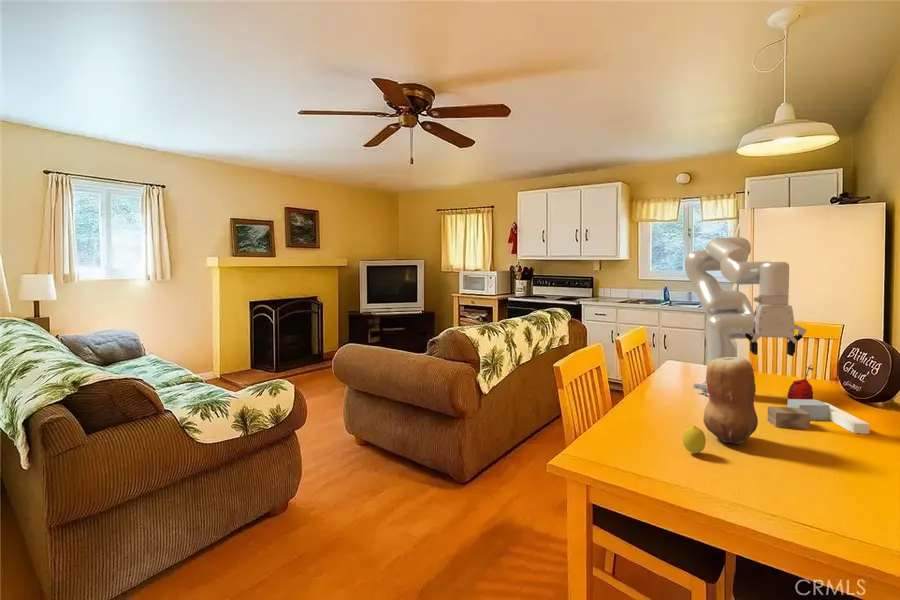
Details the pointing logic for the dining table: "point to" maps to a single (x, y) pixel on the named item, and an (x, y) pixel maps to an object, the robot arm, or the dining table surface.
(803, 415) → the walnut block
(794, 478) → the dining table surface
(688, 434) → the lemon
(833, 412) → the stop rail
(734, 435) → the butternut squash
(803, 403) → the slate block
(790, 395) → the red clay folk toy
